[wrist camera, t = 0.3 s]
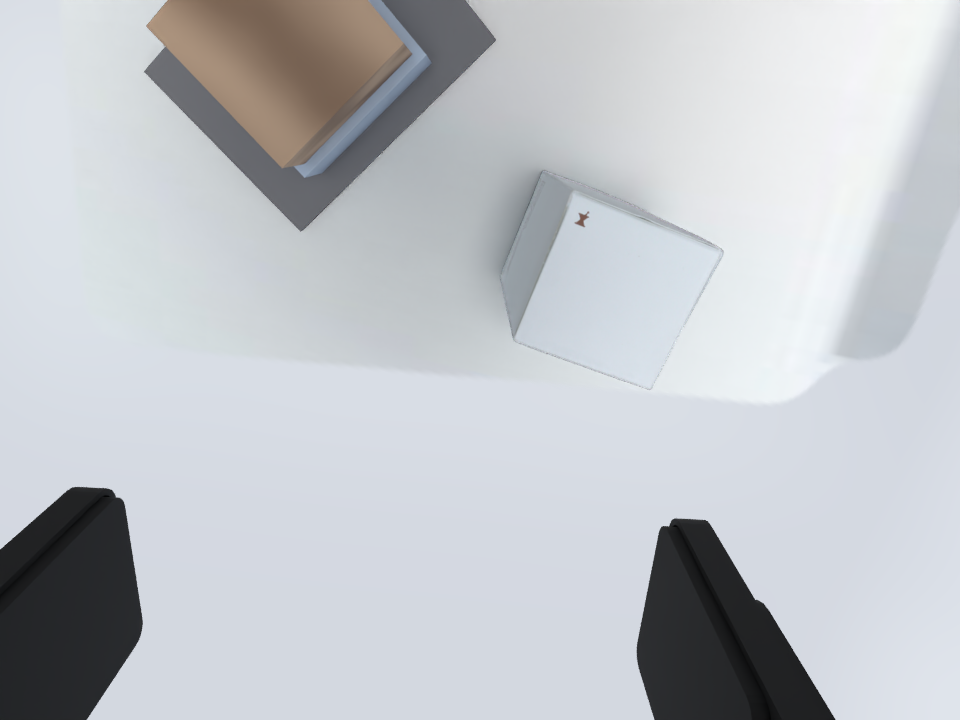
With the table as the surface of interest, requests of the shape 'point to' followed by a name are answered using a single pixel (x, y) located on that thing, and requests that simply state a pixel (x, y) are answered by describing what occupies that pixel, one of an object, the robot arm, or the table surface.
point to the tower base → (370, 99)
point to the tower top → (283, 63)
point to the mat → (451, 49)
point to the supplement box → (602, 280)
